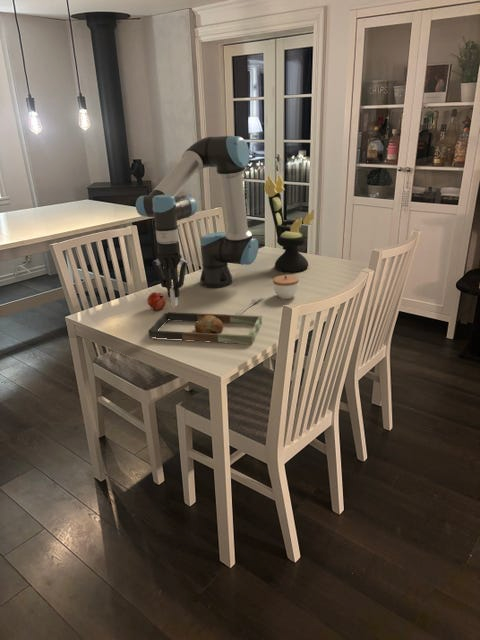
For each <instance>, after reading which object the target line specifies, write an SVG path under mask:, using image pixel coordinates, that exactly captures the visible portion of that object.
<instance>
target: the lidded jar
mask: <svg viewBox="0 0 480 640" xmlns="http://www.w3.org/2000/svg"><path fill="white" fill-rule="evenodd" d="M299 281H300V280H299V277H297V276H295V275H292V274H291V275H290V274H284V275H277V276H275V277H274V278H273V279H272V282H273V290H274V292H275V294H276V296H278V297H279V299H283V300H287V299H292V298H293V297H294V296H296V294H297V292H298V289H299Z"/></svg>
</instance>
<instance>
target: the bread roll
mask: <svg viewBox="0 0 480 640" xmlns="http://www.w3.org/2000/svg"><path fill="white" fill-rule="evenodd" d="M194 329H195V330H194V331H195V333H213V334H219V333H220V334H222V332H223V329H224V323H222V322H221V321H220V320H219V319H218V318H216V317H215V316H212V315H205V316H203V317H202V318H200V319H199V321H198V322H196V323H195V325H194Z"/></svg>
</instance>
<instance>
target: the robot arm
mask: <svg viewBox="0 0 480 640" xmlns="http://www.w3.org/2000/svg"><path fill="white" fill-rule="evenodd" d="M249 162H250V149H249V146H248V143H247V141H246V140H245V139H244V138H243V137H241V136H237V135H236V136H235V135H222V136H206V137H204V138H203V137H202V138H201V139H199V140H197V141H195V142H194V143H193V144H192V145H190V146H189V147H188V148H187V149H186V150H185V151H183V153H182V155H181V159H180V160H179V162H177V164H176V165H175V166H174V167H173V168H172V169H171V170H170V171H169V172H168V173H167V174H166V176H164V178H163V179H162V180H161V181H160V182H159V183H158V184H157V185H156V186H155V188H154V189H153V190H152V191H151V192H150V193H148V195H146V194H145V195H140V196H139V197H137V199H136V201H135V209H136V212H137V213H138V215H139V216H142V217H147V218H153V219H154V226H155V228H154V229H155V235H156V237H155V238H156V242H157V243H156V246H157V252H158V255H157V258H156V259H155V260H153V261H152V262H151V264H152V265H153V267H154V269H155V271H156V273H157V277H158V280H159V283H160V285H161V287H162V288H166V289H167V297H168V298H170V305H171V307H172V308H176V306H178V305H179V301H178V297H180V289H181V288H182V287H183V286H184V283H185V278H186V277H185V275H186V269H187V266H188V264H189V261H188V259H184V258H183V257H182V254H181V251H180V250H181V249H180V242H179V228H178V221H181V220H183V219H184V220H185V219H188V218H190V217H192V216H193V215H195V214H196V212H197V210H198V204H197V203H198V202H197V201H196V199H195V198H194V197H193V196H191V195H189V194H188V195H181V196H177V195H178V194H179V193H180V192H181V191H182V189H184V187H185V186H186V185H187V183H189V181H190V180H191V179H192V178H193V176H194V175H196V174H197V173H200V172H201V171H202V170H203V169H206V168H216V173H217V175H218V176H219V177H220V178H221V184H222V185H221V186H222V193H223V201H224V206H225V207H224V208H225V216H226V222H227V223H226V225H227V231H228V232H227V233H226V232H225V231H224V232H223V231H217V232H211V233H208V234H205V235H203V236H202V237H201V238H200V251H201V253H200V254H201V262H202V270H201V275H200V280H199V281H200V283H199V284H200V285H201V286H202V287H204V288H209V289H211V288H212V289H216V288H223V287H227V286H230V285H231V284H232V283H233V281H234V280H233V276H232V273H231V271H230V268H229V264H234V265H235V264H236V265H240V266H241V265H245V266H247V265H248V266H249V265H252V264H253V263H254V262H255V260H256V259H257V255H258V253H259V241H258V240H257V238H253V233H252V231H251V230H250V229H249V226H248V219H247V217H248V216H247V209H246V208H247V207H246V200H245V190H244V179H243V174H244V173H245V171H246V167H247V166H248V164H249ZM179 264H180V270H179V273H178V268H179V267H178V265H179ZM162 266H163V268H162Z"/></svg>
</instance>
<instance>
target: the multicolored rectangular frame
mask: <svg viewBox="0 0 480 640" xmlns="http://www.w3.org/2000/svg"><path fill="white" fill-rule="evenodd" d="M205 315H212V316H215V317H216V318H218V319H219V320H220V321H221V322H222V324H225V323H226V324H242V325H243V324H245V325H253V327H252V329H251V331H250V334H247V335H246V334H234V333H233V334H231V333H230V334H226V333H220V334H213V333H196V332H189V331H170V330H167V331H166V330H159V331H158V329H159V328H160V327H161V326H162V325H163V324H164V323H165V322H166V321H167V320H168V319H170V320H168V321H173V320H182V321H181V322H196V321H199V319H200V318H202V317H203V316H205ZM262 317H263V316H262V315H247V314H241V315H234V314H225V313H224V314H223V313H221V314H220V313H197V312H195V313H194V312H172V311H169V312H168V311H167V312H165V313H163V315H162V316H161V317H160V318H158V320H157V321H156V322H155V323H154V324H153V325H152V326H151V328H149V329H148V336H149V337H150V336H151V337H156V338H167V339H182V340H194V341H210V342H209V343H212V342H227V343H226V344H231V343H239V344H238V345H249V344H252V345H253V344H254V342H255V339H256V337H257V336H258V333H259V331H260V328H261V326H262V324H263V318H262ZM168 321H167V322H168ZM167 322H166V323H167ZM166 323H165V324H166ZM165 324H164V325H165ZM194 341H193V342H194Z"/></svg>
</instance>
